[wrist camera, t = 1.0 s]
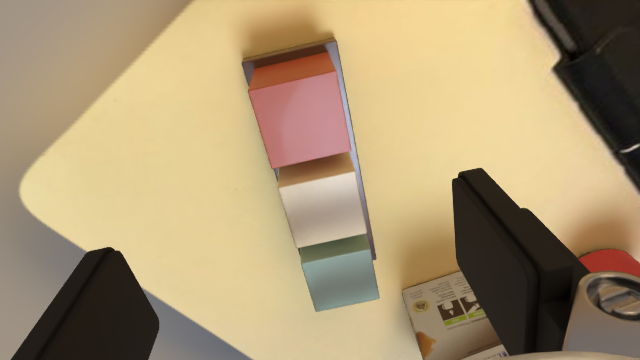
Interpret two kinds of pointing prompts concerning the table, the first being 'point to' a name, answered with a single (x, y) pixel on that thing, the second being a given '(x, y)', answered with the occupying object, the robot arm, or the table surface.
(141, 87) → the table surface
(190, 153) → the table surface
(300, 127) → the coral pink cube
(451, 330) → the coffee box
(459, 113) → the table surface
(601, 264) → the beer can
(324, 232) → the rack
